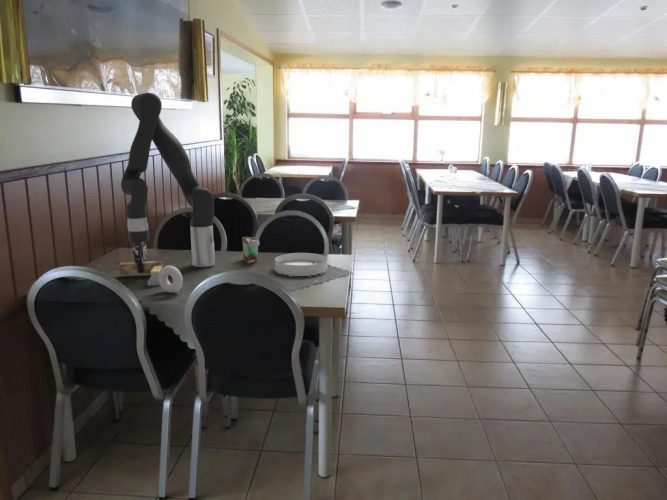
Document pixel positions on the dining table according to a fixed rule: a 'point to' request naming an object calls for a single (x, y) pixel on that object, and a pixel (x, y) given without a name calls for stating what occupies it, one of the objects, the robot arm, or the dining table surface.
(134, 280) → the dining table surface
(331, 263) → the dining table surface
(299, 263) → the dish
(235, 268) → the dining table surface
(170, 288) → the donut
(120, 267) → the walnut bar
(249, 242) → the food container
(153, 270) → the ridge block
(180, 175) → the robot arm
